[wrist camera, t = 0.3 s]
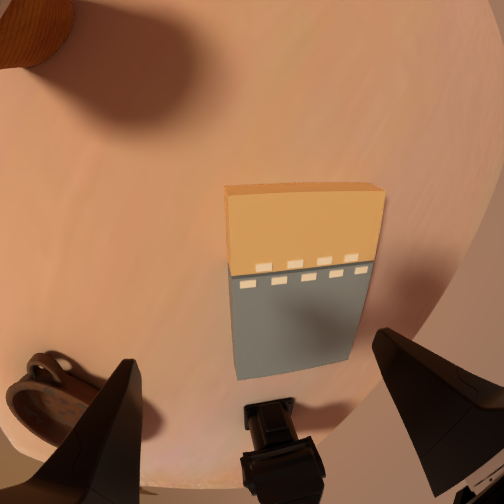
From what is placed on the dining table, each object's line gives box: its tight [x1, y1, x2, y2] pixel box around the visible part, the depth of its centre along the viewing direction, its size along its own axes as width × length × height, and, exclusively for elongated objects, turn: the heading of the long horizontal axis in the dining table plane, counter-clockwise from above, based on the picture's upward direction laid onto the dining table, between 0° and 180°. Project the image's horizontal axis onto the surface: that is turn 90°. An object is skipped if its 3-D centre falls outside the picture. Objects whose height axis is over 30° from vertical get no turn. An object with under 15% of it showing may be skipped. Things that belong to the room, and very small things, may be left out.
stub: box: [224, 183, 386, 276], centre depth 22 cm, size 6×12×3 cm, turn 91°
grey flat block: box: [228, 260, 374, 380], centre depth 26 cm, size 12×12×3 cm
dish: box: [6, 353, 99, 448], centre depth 27 cm, size 18×22×5 cm
